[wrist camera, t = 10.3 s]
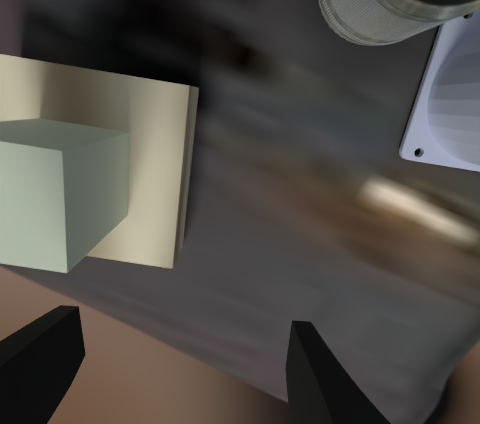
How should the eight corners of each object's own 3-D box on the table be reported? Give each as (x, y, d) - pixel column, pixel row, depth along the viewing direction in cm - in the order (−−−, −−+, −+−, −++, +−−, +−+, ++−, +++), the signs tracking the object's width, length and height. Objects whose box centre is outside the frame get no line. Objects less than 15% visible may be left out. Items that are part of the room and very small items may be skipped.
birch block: (198, 87, 18) (189, 85, 15) (182, 245, 21) (172, 268, 18) (20, 58, 17) (-25, 50, 14) (33, 223, 21) (-1, 242, 18)
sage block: (130, 132, 16) (62, 150, 10) (127, 215, 17) (67, 272, 11) (39, 117, 15) (-82, 128, 10) (44, 203, 17) (-58, 254, 11)
